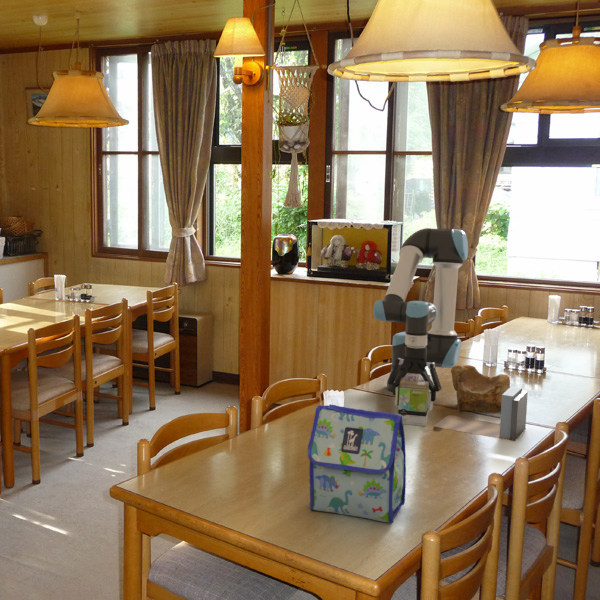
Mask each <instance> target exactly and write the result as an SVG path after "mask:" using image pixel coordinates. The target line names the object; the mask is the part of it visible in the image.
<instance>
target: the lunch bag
mask: <svg viewBox="0 0 600 600" xmlns="http://www.w3.org/2000/svg"><path fill="white" fill-rule="evenodd" d="M309 437H310V438H309V440H308V444H307V445H308V446H307V452H306V453H307V454H306V455H307V458H308V460H309V468H308V470H309V471H308V472H309V473H308V475H309V509H310V510H311V511H318V512H324V513H325V512H326V513H334V514H339V515H345V516H351V517H358V518H363V519H369V520H372V521H379V522H383V523H388V524H393V523H394V518H395V517H396V515H397V514H398V512H399V510H400V509H401V507H402V506H404V505H405V502H406V488H407V487H406V485H407V484H406V483H407V482H406V480H407V479H406V478H407V477H406V475H407V466H406V465H407V463H406V438H405V429H404V424H403V421H402V416H401V415H398V413H392V412H391V413H390V412H386V411H385V412H384V411H383V412H382V411H372V410H366V409H360V408H359V409H358V408H351V407H346V406H339V405H336V404H331V403H330V404H329V405H321V404H320V405H318V406H316V407H315V414H314V417H313V424H312V429H311V434H310V436H309Z"/></svg>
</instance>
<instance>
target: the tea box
mask: <svg viewBox="0 0 600 600" xmlns="http://www.w3.org/2000/svg"><path fill="white" fill-rule="evenodd" d="M428 375H429V377H430V378H431V374H428ZM429 392H430V389H429V382H428V381H424V379H423V377H422V376H421V375H420V374H411V373H407V374H406V376H404V377H403V378H401V381H400V389H399V405H398V408H397V409H398V410H397V411H398V412H397V415H401V416H402V421H403V425H406V426H407V425H409V426H418V427H419V426H420V427H426V425H427V421H428V416H429V411H428V395H429Z"/></svg>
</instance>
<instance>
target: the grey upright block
mask: <svg viewBox="0 0 600 600" xmlns="http://www.w3.org/2000/svg"><path fill="white" fill-rule="evenodd" d="M522 390H523V388H522V387H521V386H520V387H518V386H512V385H510V388H509V389H508V390H507V391H506V392H504V393H503V394H502V402H501V412H500V418H499V420H500V421H499V422H500V423H499V424H500V437H504V438H509V439H510V431H511V414H512V400H513V399H514V398H515V397H516V396H517V395H518V394H519V393H520V392H521V391H522Z"/></svg>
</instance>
